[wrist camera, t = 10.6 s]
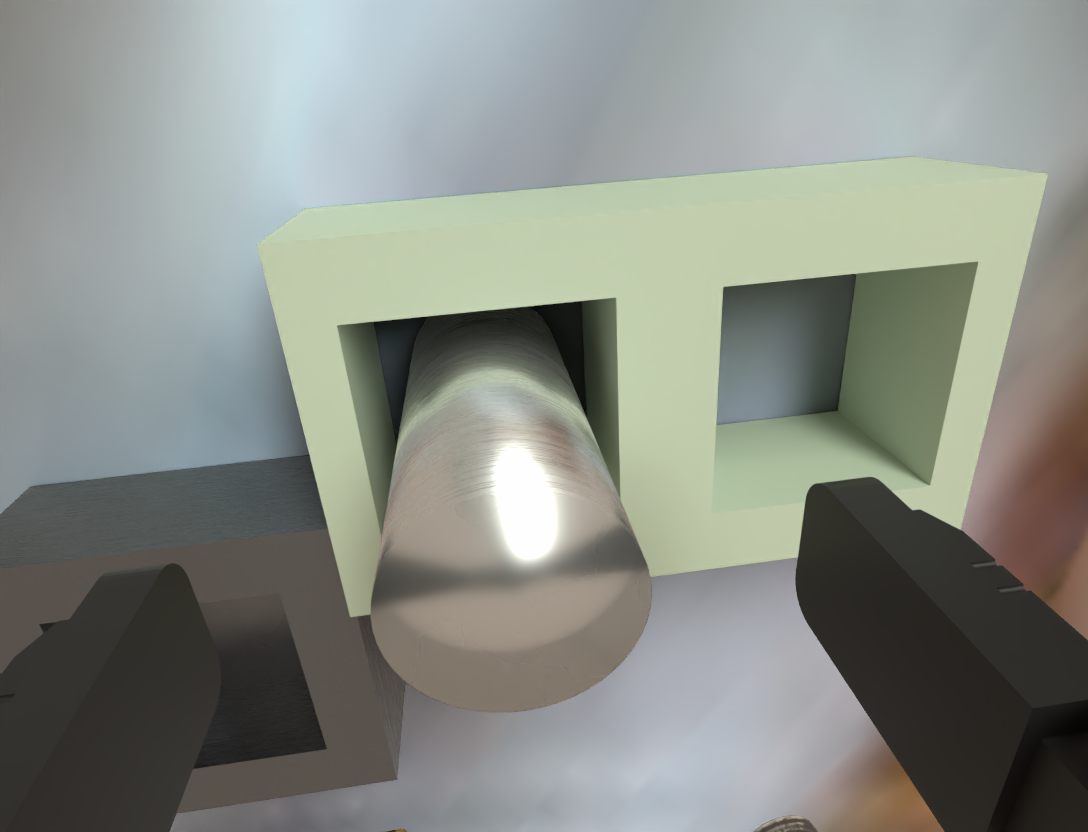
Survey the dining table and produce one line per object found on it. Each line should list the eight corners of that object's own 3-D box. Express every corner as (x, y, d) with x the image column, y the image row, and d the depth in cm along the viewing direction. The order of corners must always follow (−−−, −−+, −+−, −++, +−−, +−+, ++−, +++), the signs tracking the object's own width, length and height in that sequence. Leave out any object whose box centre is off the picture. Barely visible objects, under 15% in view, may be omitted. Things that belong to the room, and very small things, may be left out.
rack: (305, 208, 15) (256, 244, 11) (913, 156, 16) (1048, 173, 12) (370, 514, 18) (350, 617, 14) (864, 454, 19) (958, 535, 16)
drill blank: (401, 299, 16) (344, 511, 8) (552, 284, 16) (652, 474, 8) (423, 435, 17) (396, 729, 9) (561, 419, 18) (651, 692, 9)
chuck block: (30, 486, 17) (-69, 577, 13) (357, 449, 17) (335, 527, 14) (137, 714, 20) (78, 828, 17) (405, 675, 21) (396, 779, 18)
